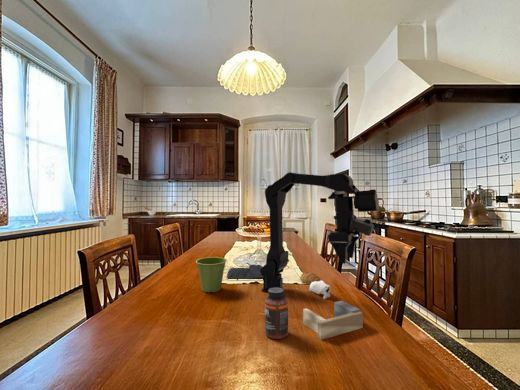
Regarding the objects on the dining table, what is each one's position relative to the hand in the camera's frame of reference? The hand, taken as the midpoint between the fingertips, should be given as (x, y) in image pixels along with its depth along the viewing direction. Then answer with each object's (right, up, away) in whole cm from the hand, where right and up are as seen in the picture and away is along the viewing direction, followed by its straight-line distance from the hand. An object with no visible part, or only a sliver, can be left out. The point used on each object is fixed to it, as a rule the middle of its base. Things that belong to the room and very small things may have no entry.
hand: (347, 260), depth 88 cm
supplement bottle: (-24, -15, -19) cm, 34 cm away
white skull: (-7, -15, +10) cm, 20 cm away
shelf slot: (-9, -14, -14) cm, 22 cm away
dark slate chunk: (-32, -16, +35) cm, 50 cm away
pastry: (-7, -15, +24) cm, 30 cm away
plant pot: (-47, -15, +16) cm, 52 cm away
